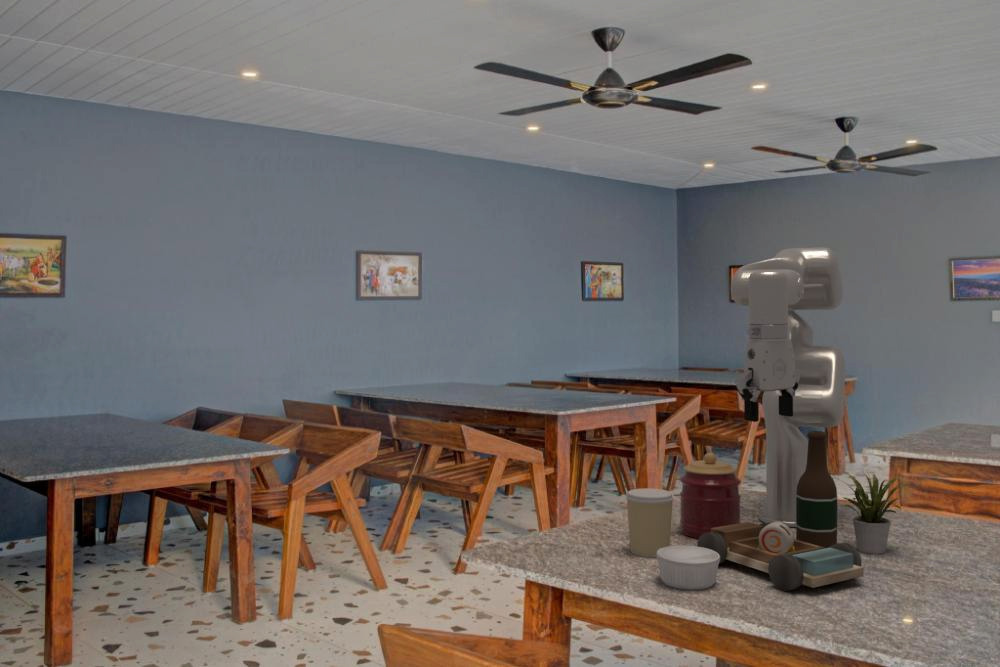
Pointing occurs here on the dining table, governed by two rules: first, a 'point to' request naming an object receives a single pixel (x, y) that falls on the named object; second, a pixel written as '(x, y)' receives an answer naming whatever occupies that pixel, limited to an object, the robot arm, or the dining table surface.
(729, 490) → the canister
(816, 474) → the beer bottle
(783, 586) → the chassis
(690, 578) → the ramekin
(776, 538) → the roller toy
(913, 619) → the dining table surface
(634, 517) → the coffee cup
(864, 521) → the house plant
